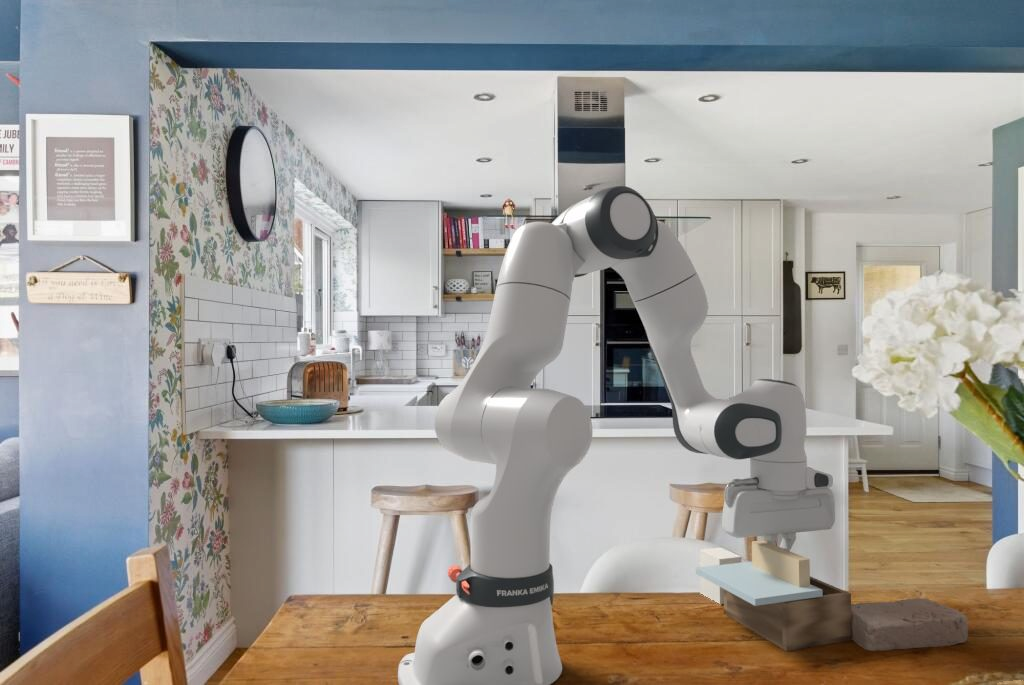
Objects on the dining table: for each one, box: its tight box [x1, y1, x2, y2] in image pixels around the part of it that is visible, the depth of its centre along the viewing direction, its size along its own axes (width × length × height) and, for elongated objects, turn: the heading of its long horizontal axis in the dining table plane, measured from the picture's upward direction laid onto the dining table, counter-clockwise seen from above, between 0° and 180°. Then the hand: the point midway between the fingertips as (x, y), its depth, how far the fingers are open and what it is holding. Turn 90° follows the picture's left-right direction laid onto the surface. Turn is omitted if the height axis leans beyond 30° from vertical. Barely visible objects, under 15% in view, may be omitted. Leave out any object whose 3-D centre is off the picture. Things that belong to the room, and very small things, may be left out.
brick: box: [851, 597, 969, 652], centre depth 102 cm, size 17×8×5 cm, turn 98°
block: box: [699, 547, 742, 604], centre depth 119 cm, size 4×6×8 cm
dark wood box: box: [723, 576, 853, 652], centre depth 106 cm, size 12×15×7 cm
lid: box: [695, 540, 823, 606], centre depth 105 cm, size 12×15×5 cm
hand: (779, 559), depth 111 cm, fingers closed
